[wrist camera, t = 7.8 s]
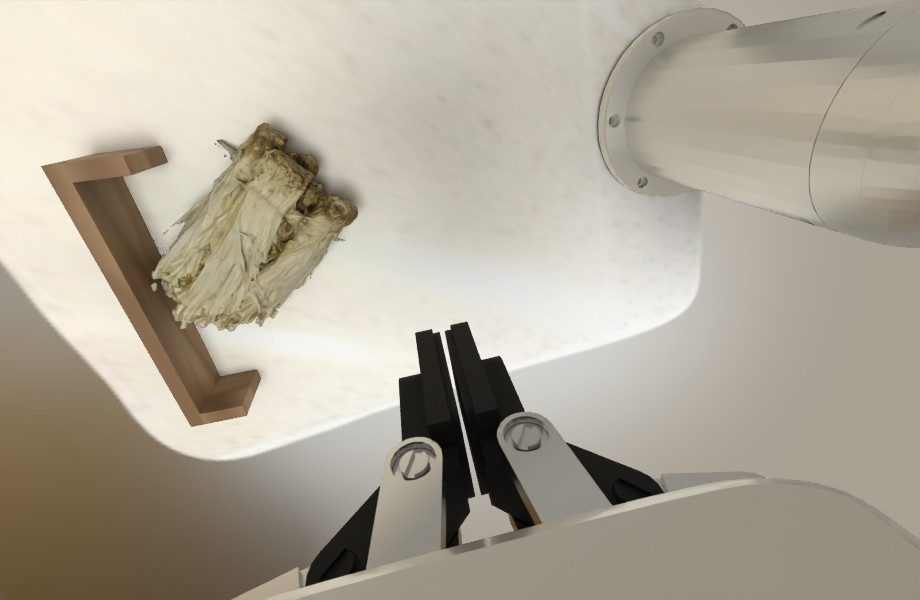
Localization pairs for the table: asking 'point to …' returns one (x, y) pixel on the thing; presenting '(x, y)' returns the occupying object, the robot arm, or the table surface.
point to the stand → (145, 281)
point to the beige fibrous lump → (251, 236)
